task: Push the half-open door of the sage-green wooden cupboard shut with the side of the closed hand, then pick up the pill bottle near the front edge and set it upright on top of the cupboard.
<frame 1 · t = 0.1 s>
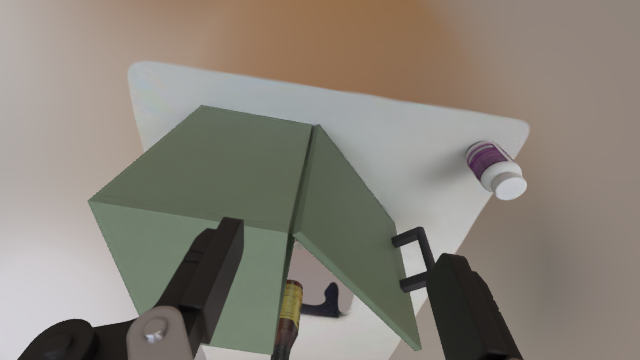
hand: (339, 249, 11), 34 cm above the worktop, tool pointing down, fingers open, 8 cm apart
sauce bottle: (292, 284, 71), on the worktop
pill bottle: (481, 153, 45), on the worktop
cupboard door: (379, 219, 39), point 12 cm above the worktop, hinge at 45.0°
cupboard: (255, 179, 52), on the worktop
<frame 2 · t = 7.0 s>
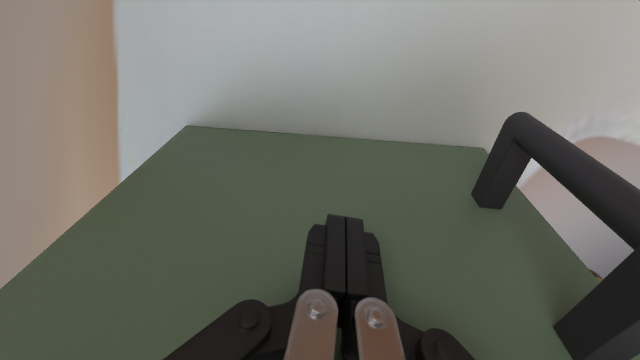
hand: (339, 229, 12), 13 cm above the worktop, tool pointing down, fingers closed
cupboard door: (327, 204, 13), point 12 cm above the worktop, hinge at 21.1°, touching hand
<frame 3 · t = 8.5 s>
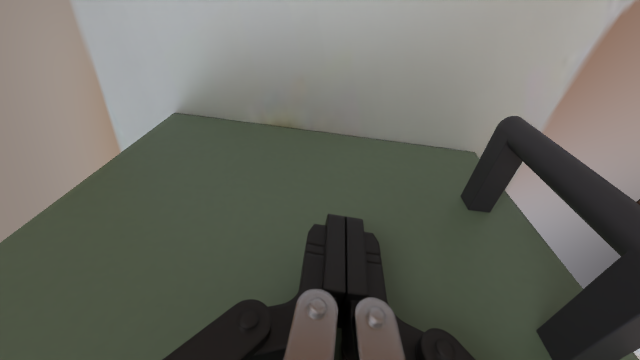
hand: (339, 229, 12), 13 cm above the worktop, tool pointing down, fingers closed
cupboard door: (317, 198, 12), point 12 cm above the worktop, hinge at 2.8°, touching hand
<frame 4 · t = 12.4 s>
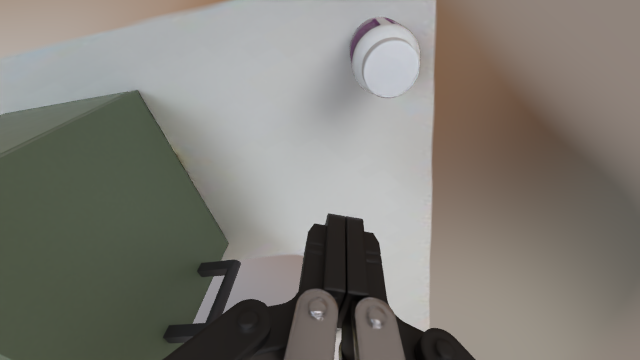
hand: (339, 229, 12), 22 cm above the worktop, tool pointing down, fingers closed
pill bottle: (376, 46, 27), on the worktop
cupboard door: (159, 243, 29), point 12 cm above the worktop, hinge at 2.8°
cupboard: (125, 188, 40), on the worktop
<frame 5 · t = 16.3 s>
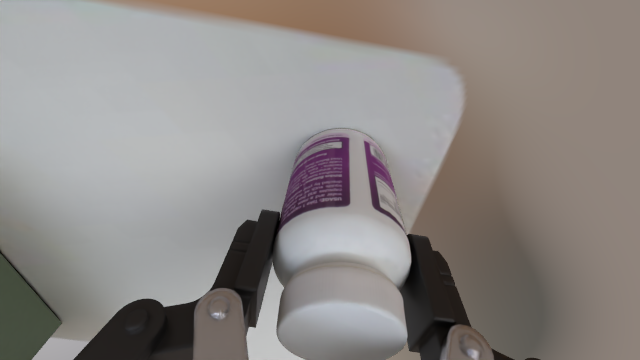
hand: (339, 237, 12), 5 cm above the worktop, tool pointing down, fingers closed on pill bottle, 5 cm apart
pill bottle: (340, 165, 16), on the worktop, touching gripper
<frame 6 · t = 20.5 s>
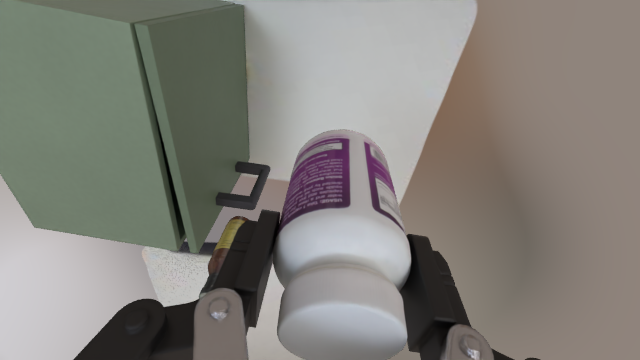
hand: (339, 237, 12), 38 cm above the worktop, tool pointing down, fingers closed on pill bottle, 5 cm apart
sauce bottle: (242, 222, 66), on the worktop
pill bottle: (341, 166, 16), point 32 cm above the worktop, touching gripper
cupboard door: (239, 125, 37), point 12 cm above the worktop, hinge at 2.8°
cupboard: (183, 82, 47), on the worktop
when the fingers open (29 cm above the worktop, at t = 24.9 s): pill bottle stays where it is, resting on cupboard.
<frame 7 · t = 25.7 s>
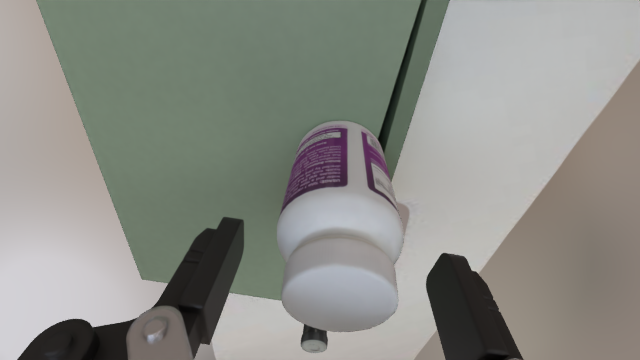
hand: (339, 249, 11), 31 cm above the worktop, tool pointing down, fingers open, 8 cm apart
sauce bottle: (321, 246, 58), on the worktop
pill bottle: (340, 156, 17), point 24 cm above the worktop, touching cupboard
cupboard door: (390, 141, 29), point 12 cm above the worktop, hinge at 2.8°
cupboard: (286, 87, 39), on the worktop
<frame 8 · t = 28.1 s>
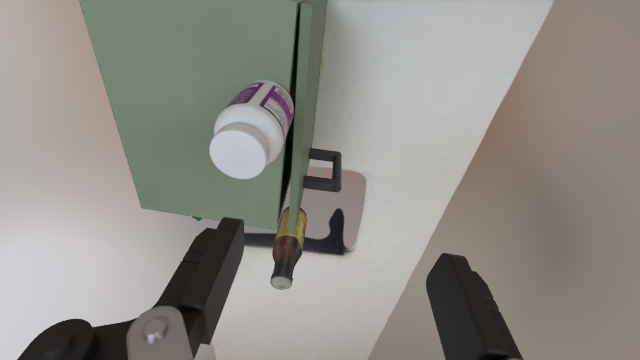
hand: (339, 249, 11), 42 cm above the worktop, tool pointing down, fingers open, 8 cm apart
sauce bottle: (295, 213, 67), on the worktop
pill bottle: (268, 105, 27), point 24 cm above the worktop, touching cupboard
cupboard door: (328, 109, 39), point 12 cm above the worktop, hinge at 2.8°
cupboard: (257, 72, 48), on the worktop
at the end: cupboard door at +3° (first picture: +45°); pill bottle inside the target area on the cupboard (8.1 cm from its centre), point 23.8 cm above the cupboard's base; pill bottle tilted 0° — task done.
